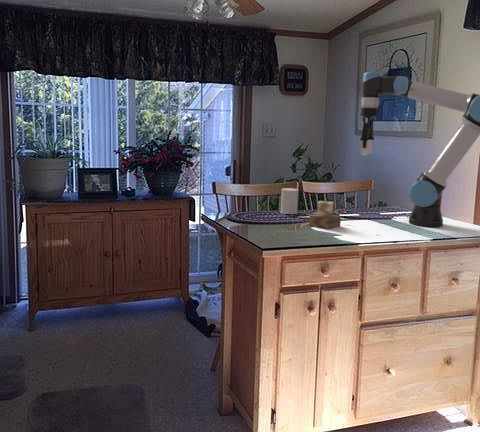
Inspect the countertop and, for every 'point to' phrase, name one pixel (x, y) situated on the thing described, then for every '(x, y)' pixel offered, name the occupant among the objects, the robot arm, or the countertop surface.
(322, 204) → the maple cube
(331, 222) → the walnut block
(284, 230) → the countertop surface
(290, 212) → the cup
